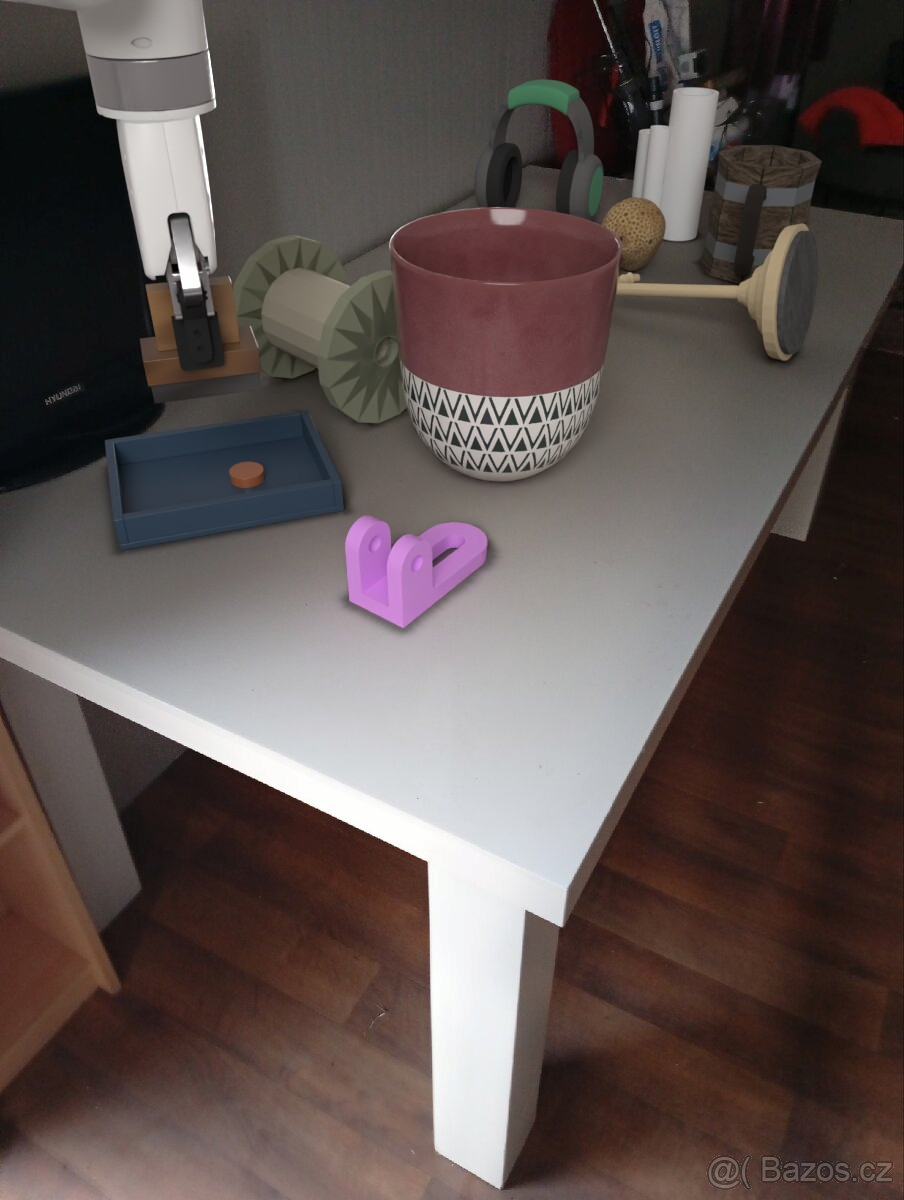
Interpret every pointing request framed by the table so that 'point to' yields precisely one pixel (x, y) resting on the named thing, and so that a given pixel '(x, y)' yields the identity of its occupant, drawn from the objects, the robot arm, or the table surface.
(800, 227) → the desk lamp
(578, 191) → the headphones
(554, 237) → the planter
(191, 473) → the tray
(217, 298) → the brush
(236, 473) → the orange disc
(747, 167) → the mug
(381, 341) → the spool
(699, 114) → the vase
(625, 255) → the natural sponge
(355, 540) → the bracket
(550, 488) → the table surface
